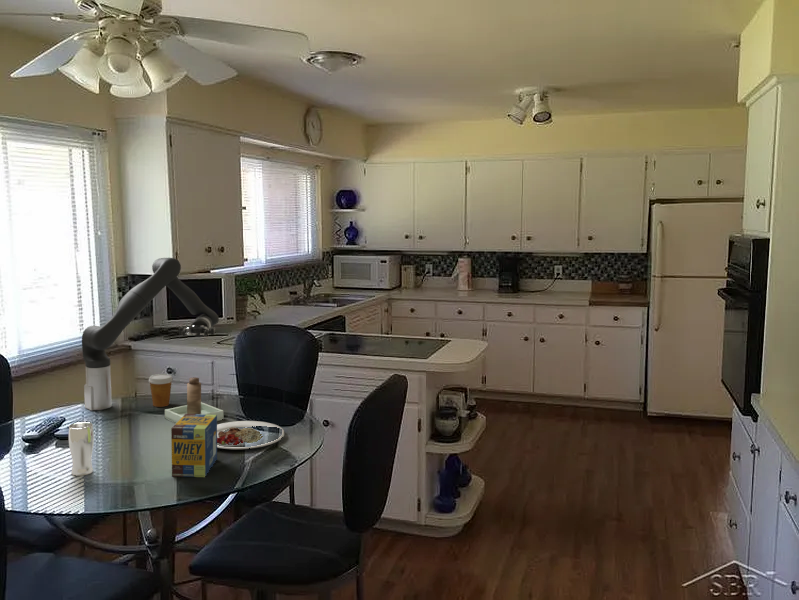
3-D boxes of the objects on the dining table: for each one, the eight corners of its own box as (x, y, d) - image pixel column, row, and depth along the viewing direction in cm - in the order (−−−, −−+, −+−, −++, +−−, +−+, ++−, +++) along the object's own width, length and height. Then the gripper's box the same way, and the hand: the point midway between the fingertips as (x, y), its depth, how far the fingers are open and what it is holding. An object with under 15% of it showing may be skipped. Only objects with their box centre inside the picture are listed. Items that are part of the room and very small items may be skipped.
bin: (186, 428, 254) (186, 419, 254) (164, 418, 265) (164, 409, 265) (223, 419, 266) (223, 410, 265) (201, 410, 277) (201, 402, 276)
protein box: (171, 477, 209) (170, 428, 206) (185, 458, 224) (185, 413, 222) (205, 477, 209) (205, 428, 207) (218, 459, 224) (217, 413, 222)
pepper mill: (191, 418, 262) (191, 380, 260) (184, 416, 265) (184, 378, 264) (203, 416, 266) (203, 378, 264) (196, 413, 269) (196, 376, 267)
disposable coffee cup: (178, 404, 284) (177, 376, 283) (159, 409, 276) (158, 380, 275) (162, 400, 289) (162, 372, 288) (143, 405, 281) (143, 377, 280)
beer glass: (88, 466, 215) (86, 420, 213) (99, 472, 211) (97, 425, 209) (65, 472, 210) (64, 425, 208) (76, 478, 205) (74, 430, 203)
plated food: (293, 428, 259) (293, 419, 258) (271, 456, 229) (271, 446, 229) (217, 423, 262) (217, 415, 261) (185, 450, 232) (184, 440, 232)
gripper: (183, 318, 296) (176, 324, 280) (217, 318, 298) (212, 324, 282) (184, 335, 297) (176, 342, 281) (217, 335, 299) (212, 342, 283)
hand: (194, 333), depth 281 cm, fingers open, 8 cm apart
